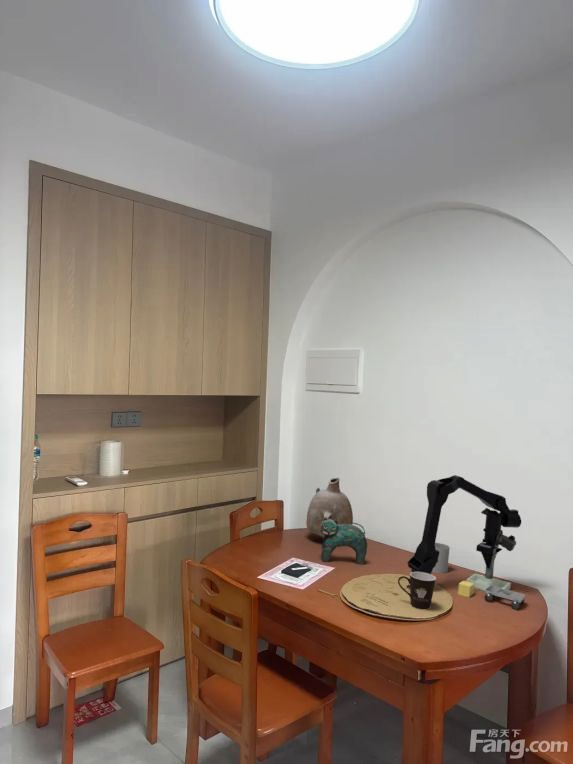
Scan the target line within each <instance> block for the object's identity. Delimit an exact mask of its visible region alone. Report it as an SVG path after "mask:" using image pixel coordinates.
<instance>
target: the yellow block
mask: <svg viewBox="0 0 573 764" xmlns="http://www.w3.org/2000/svg"><path fill="white" fill-rule="evenodd" d="M457 589H458V591H457V595H459V596H463V597H465V598H471V597H472V596H473V595H474V590H475V588H474V583H471V582H467V581H466V580H461V582H459V583H458V587H457Z"/></svg>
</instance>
